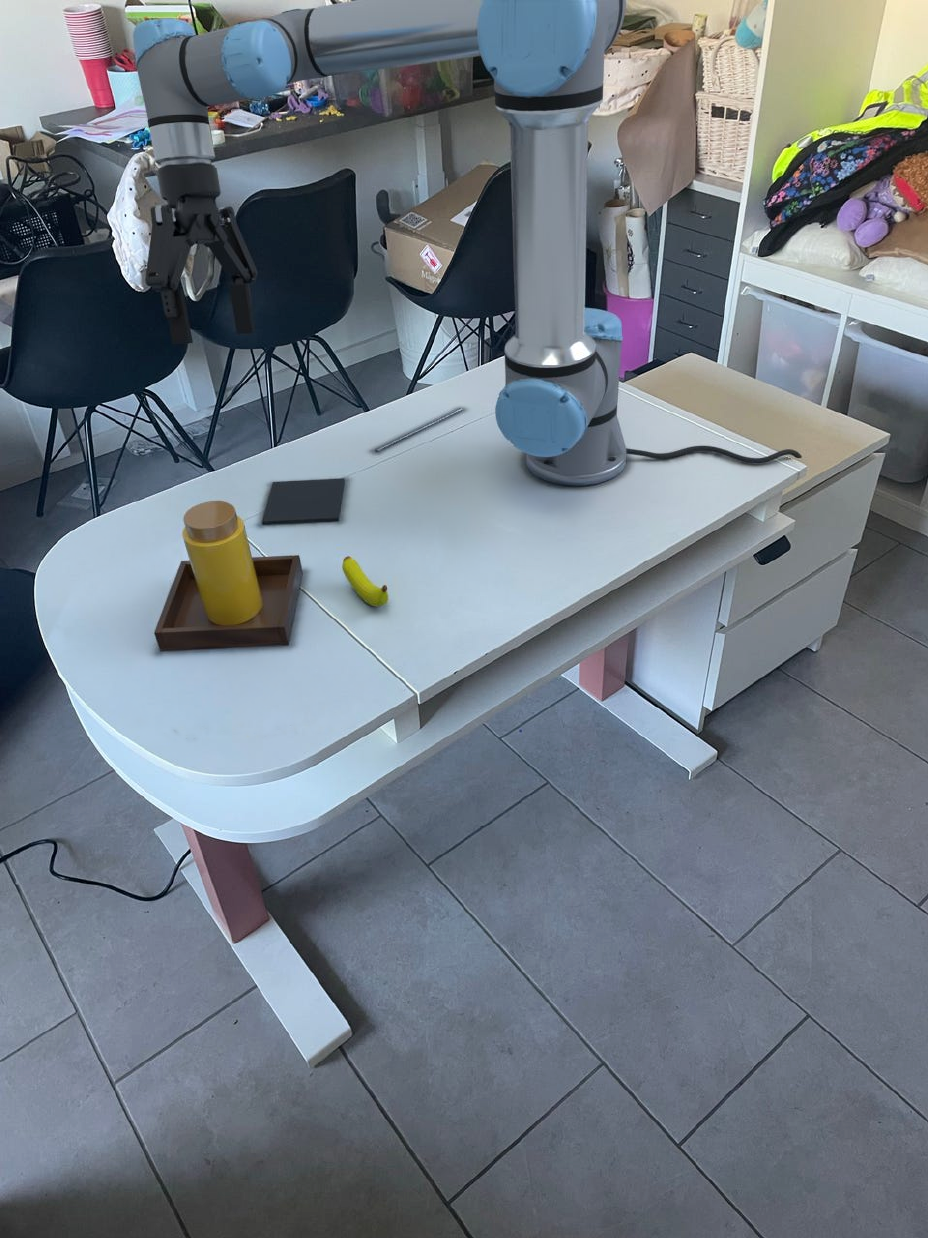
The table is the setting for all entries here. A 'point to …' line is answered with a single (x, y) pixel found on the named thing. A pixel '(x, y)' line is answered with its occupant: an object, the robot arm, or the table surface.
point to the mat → (304, 501)
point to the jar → (222, 563)
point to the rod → (418, 430)
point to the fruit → (364, 584)
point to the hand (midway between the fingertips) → (216, 338)
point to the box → (270, 627)
